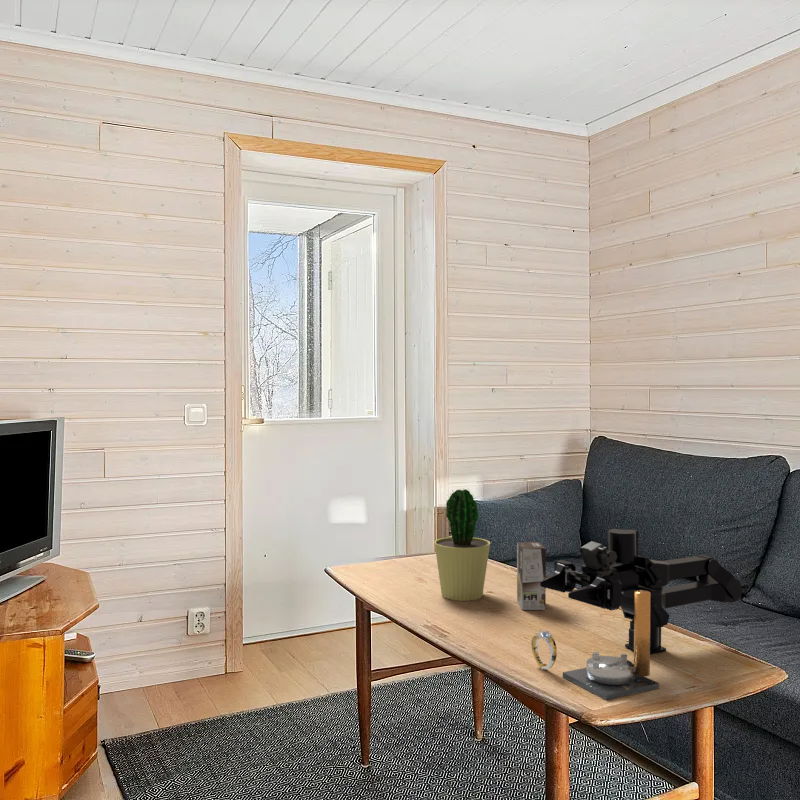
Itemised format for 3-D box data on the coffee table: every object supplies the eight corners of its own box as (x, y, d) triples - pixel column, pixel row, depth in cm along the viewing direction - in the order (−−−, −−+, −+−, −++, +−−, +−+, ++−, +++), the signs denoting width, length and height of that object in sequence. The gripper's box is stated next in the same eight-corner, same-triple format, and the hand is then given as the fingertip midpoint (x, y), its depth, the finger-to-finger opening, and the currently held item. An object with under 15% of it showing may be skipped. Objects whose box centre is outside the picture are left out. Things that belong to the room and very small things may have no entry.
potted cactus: (489, 588, 232) (490, 483, 232) (490, 603, 217) (490, 491, 216) (435, 587, 234) (435, 483, 233) (432, 602, 219) (432, 490, 218)
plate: (613, 667, 169) (613, 661, 169) (658, 688, 158) (658, 682, 158) (562, 677, 163) (562, 671, 163) (606, 700, 152) (606, 694, 152)
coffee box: (546, 610, 211) (546, 548, 210) (521, 610, 211) (521, 548, 210) (540, 600, 220) (540, 541, 219) (516, 600, 220) (516, 541, 219)
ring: (559, 673, 165) (560, 634, 165) (546, 675, 164) (546, 636, 164) (541, 662, 172) (541, 625, 172) (528, 664, 171) (528, 626, 171)
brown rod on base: (586, 682, 157) (586, 594, 157) (586, 666, 166) (587, 583, 165) (651, 687, 154) (652, 598, 154) (648, 671, 163) (648, 586, 163)
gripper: (583, 534, 183) (527, 541, 176) (644, 551, 167) (584, 561, 160) (583, 582, 184) (527, 592, 177) (643, 605, 167) (584, 617, 160)
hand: (554, 589), depth 168 cm, fingers open, 9 cm apart
